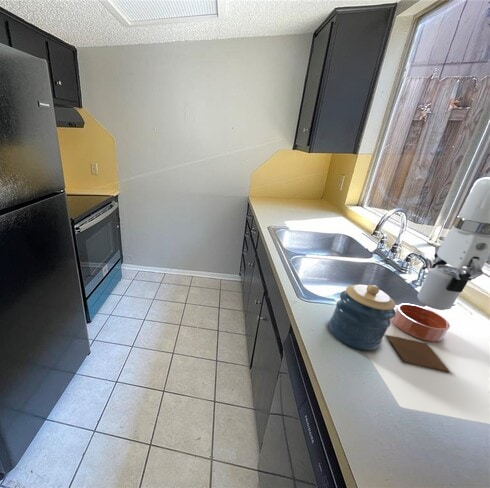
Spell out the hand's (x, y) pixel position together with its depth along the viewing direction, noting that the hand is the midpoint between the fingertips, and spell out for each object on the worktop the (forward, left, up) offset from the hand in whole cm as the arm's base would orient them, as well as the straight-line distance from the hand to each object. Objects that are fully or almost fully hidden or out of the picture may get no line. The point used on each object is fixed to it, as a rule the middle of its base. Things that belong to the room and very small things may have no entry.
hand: (443, 282), depth 75 cm
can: (0, 0, -8) cm, 8 cm away
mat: (+6, +12, -17) cm, 22 cm away
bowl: (0, 0, -17) cm, 17 cm away
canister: (+21, +10, -17) cm, 29 cm away
